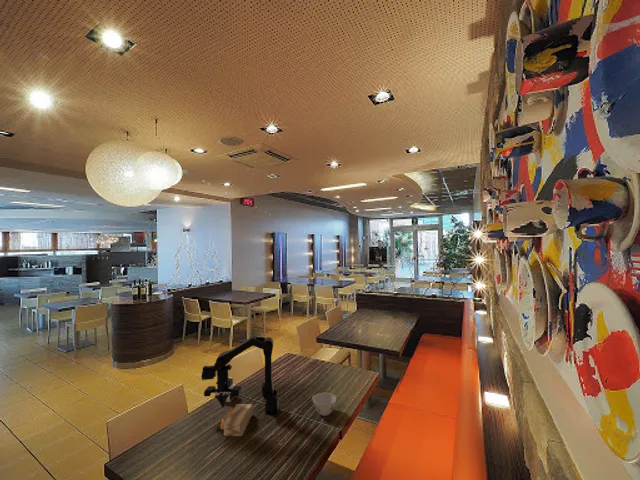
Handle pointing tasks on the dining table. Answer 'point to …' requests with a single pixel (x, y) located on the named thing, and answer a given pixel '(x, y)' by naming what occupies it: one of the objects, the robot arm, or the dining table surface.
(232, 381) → the medicine bottle
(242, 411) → the beech block
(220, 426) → the knob outer
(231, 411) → the knob inner
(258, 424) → the dining table surface
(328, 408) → the teacup
